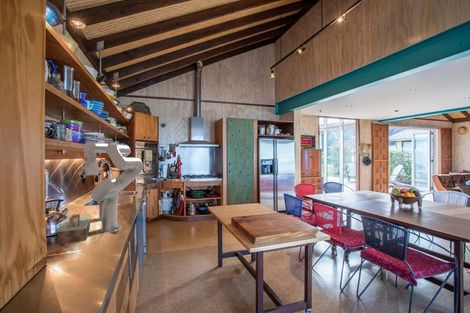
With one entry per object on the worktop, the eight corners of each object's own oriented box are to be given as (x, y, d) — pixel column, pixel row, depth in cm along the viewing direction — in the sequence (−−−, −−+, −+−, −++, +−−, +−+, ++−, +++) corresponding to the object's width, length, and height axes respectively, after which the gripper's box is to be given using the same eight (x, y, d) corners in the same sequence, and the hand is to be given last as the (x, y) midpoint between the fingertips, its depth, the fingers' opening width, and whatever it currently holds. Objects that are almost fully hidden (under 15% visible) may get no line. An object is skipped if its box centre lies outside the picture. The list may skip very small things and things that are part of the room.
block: (77, 237, 146) (78, 216, 145) (76, 239, 142) (77, 217, 142) (70, 238, 144) (70, 216, 144) (69, 240, 140) (69, 218, 140)
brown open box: (89, 229, 165) (90, 218, 165) (86, 241, 142) (86, 228, 142) (65, 232, 158) (66, 220, 158) (57, 245, 135) (57, 231, 135)
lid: (90, 218, 165) (90, 209, 165) (86, 228, 142) (86, 218, 142) (66, 220, 158) (66, 211, 158) (57, 231, 135) (58, 221, 135)
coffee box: (100, 217, 195) (101, 198, 195) (109, 217, 197) (109, 198, 197) (98, 220, 187) (99, 200, 187) (107, 219, 189) (108, 200, 189)
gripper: (81, 159, 161) (81, 184, 161) (104, 159, 177) (104, 182, 177) (74, 159, 164) (75, 184, 164) (97, 159, 180) (97, 181, 180)
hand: (90, 182), depth 171 cm, fingers open, 9 cm apart
